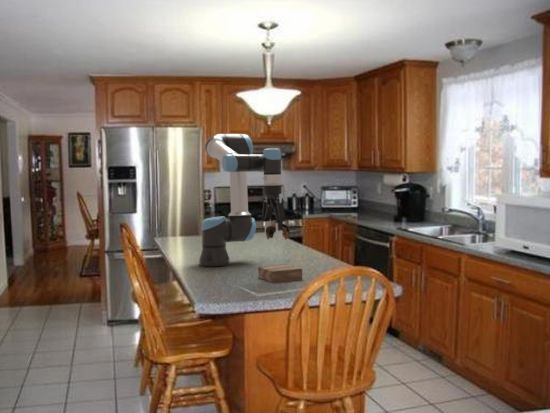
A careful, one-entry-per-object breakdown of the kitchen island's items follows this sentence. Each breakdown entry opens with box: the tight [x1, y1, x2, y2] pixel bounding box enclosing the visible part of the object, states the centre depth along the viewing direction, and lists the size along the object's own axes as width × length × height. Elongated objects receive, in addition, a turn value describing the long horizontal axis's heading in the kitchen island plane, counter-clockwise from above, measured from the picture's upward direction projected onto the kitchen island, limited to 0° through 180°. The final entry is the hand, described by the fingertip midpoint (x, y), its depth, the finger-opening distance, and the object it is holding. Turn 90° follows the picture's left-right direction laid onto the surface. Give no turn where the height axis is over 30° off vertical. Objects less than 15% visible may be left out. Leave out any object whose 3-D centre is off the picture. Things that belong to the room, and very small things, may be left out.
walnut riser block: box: [257, 264, 303, 284], centre depth 242 cm, size 14×14×5 cm
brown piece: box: [266, 222, 291, 240], centre depth 240 cm, size 12×9×8 cm
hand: (273, 237), depth 241 cm, fingers closed on brown piece, 9 cm apart
